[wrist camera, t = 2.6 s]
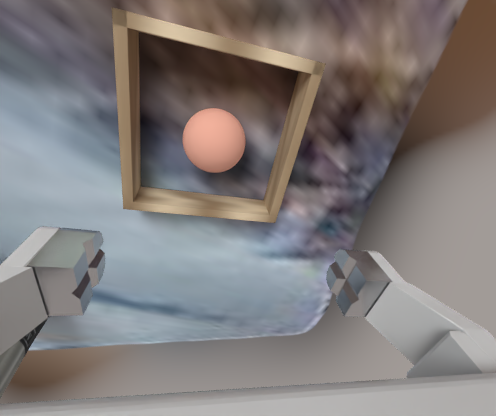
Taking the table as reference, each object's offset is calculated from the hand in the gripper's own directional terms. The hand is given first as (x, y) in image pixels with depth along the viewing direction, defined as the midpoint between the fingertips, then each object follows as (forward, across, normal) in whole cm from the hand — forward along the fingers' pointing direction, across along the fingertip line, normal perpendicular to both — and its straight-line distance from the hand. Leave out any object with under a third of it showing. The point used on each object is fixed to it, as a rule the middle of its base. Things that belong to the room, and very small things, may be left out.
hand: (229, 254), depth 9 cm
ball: (+13, 0, 0) cm, 13 cm away
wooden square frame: (+16, 0, 0) cm, 16 cm away
